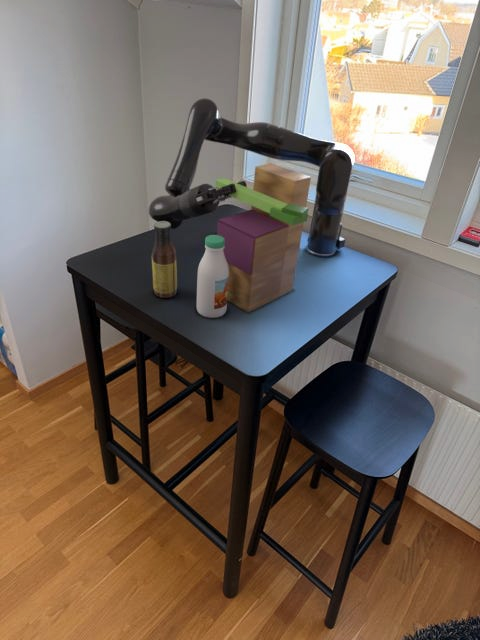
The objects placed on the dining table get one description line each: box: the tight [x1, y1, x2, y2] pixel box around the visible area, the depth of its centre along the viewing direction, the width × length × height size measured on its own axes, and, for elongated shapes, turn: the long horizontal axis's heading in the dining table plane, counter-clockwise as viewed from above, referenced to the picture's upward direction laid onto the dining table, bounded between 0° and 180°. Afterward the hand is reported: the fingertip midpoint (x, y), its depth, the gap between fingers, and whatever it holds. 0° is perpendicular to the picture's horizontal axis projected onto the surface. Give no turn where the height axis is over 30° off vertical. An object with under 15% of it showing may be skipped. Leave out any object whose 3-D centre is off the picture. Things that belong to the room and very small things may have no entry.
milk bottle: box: [196, 234, 229, 319], centre depth 114 cm, size 8×8×20 cm
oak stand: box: [227, 162, 312, 313], centre depth 120 cm, size 13×18×32 cm
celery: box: [214, 177, 310, 226], centre depth 111 cm, size 27×6×3 cm, turn 45°
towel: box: [216, 209, 288, 275], centre depth 118 cm, size 12×12×10 cm
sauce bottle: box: [151, 221, 178, 299], centre depth 119 cm, size 6×6×20 cm
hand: (239, 186), depth 114 cm, fingers closed on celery, 3 cm apart
